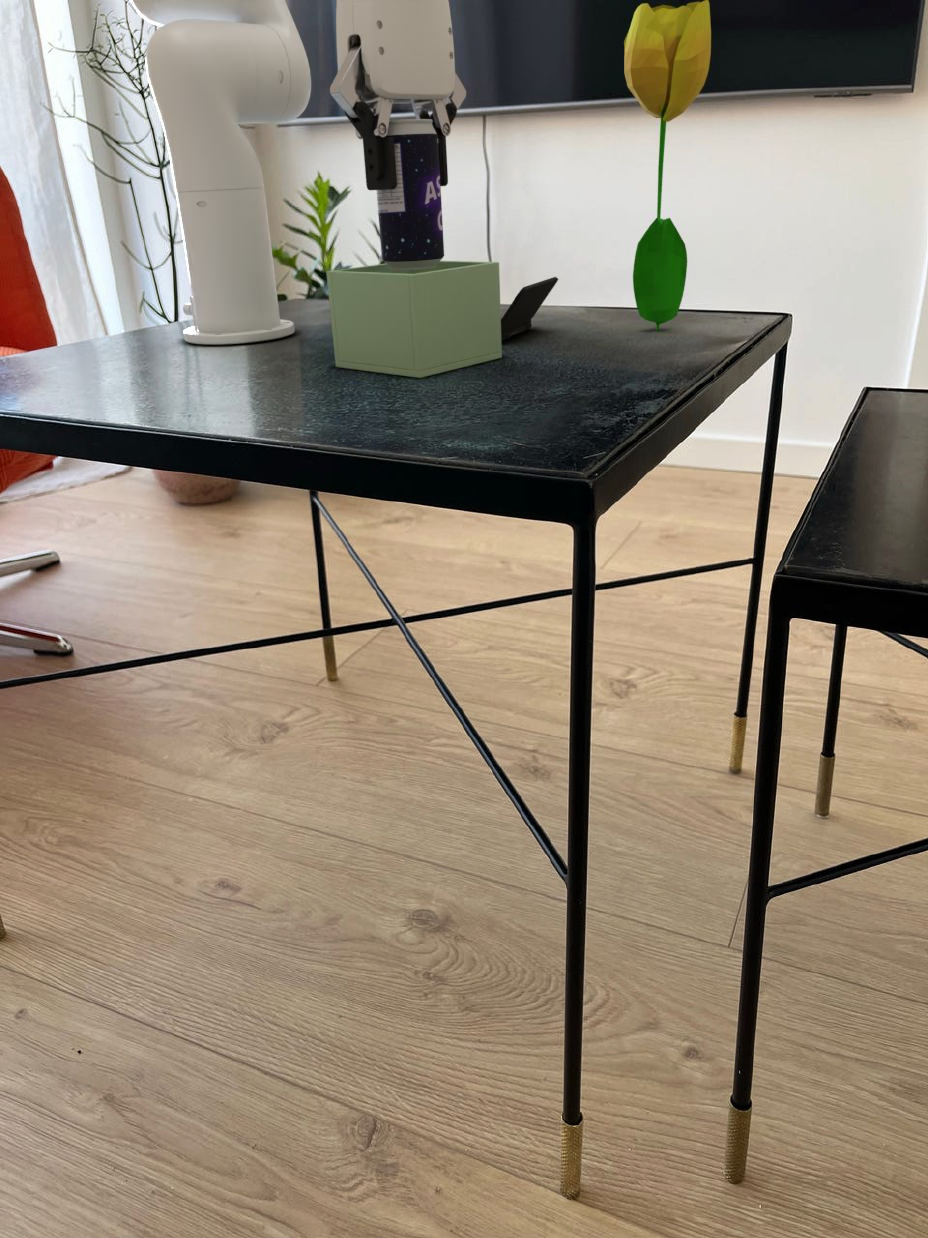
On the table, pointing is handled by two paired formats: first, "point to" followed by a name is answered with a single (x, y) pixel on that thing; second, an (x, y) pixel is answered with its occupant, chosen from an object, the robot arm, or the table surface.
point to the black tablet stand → (525, 307)
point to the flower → (664, 86)
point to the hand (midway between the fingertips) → (408, 185)
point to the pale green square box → (415, 317)
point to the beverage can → (412, 199)
